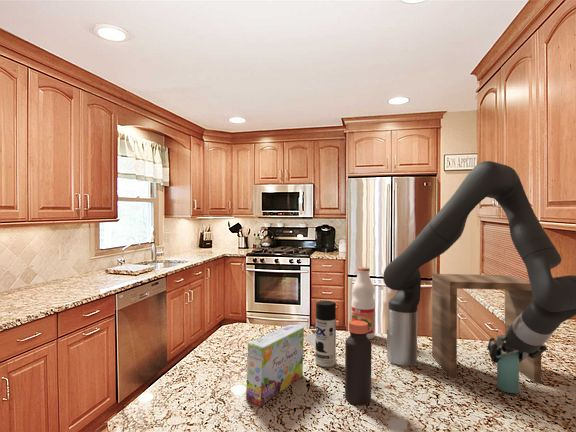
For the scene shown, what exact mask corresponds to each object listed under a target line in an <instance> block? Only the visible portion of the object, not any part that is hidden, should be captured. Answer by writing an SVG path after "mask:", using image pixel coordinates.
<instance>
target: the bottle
mask: <svg viewBox="0 0 576 432" xmlns="http://www.w3.org/2000/svg"><path fill="white" fill-rule="evenodd" d="M348 332H349V334H350V335H349V336H348V337H347V338H346V340H345V342H344V345H345V350H344V351H345V353H344V354H345V355H344V356H345V357H344V358H345V359H344V360H345V361H344V362H345V364H344V369H345V370H344V397H345V400H346V401H347V402H349V403H350V404H353V405H356V406H357V405H358V406H365V405H368V404H369V403H371V400H372V350H373V349H372V347H373V345H372V341H371V339H368V338H367V334H368V323H367V322H364V321H359V320H354V321H349V322H348Z"/></svg>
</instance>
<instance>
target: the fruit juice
mask: <svg viewBox="0 0 576 432" xmlns="http://www.w3.org/2000/svg"><path fill="white" fill-rule="evenodd" d="M351 291H352V299H351V321H354V320H359V321H364V322H367V323H368V334H367V338H368V339H369V340H372V339H374V338H375V335H376V302H375V301H376V300H375V298H374V295H375V292H376V290H375V286H374V284H373V282H372V279H371V277H370V267H368V266H367V267H366V266H359V267H357V276H356V279H355V281H354V283H353V285H352V287H351Z"/></svg>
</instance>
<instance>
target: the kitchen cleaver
mask: <svg viewBox="0 0 576 432" xmlns="http://www.w3.org/2000/svg"><path fill="white" fill-rule="evenodd" d="M310 329H316V326H314V325H311V326H309V327H308V330H310ZM310 331H311V334H307V335H304V339H305V340H306V341H307V342H308V343H309V344H310V345H311V346H312V347H313V348H315V349H316V330H310Z"/></svg>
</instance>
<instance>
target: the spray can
mask: <svg viewBox="0 0 576 432" xmlns="http://www.w3.org/2000/svg"><path fill="white" fill-rule="evenodd" d="M315 329H316V348H315V354H314V355H315V364H316V366H319V367H321V368H333V367H335V365H336V358H337V357H336V349H337V348H336V347H337V346H336V344H337V343H336V341H337V303H336V302H335V301H333V300H332V301H331V300H320V301H316V303H315Z"/></svg>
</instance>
